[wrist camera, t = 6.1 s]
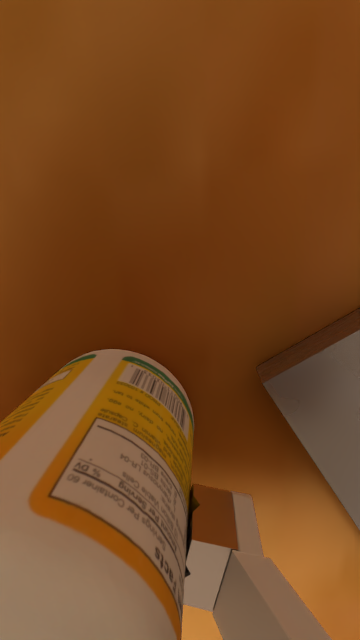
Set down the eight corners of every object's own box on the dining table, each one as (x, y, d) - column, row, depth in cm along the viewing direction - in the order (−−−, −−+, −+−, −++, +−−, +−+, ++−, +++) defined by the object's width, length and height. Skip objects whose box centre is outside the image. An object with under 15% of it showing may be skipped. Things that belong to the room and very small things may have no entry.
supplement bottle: (199, 350, 10) (162, 1316, 1) (190, 484, 12) (140, 1404, 2) (41, 339, 11) (-1029, 1011, 1) (50, 470, 12) (-458, 1248, 3)
